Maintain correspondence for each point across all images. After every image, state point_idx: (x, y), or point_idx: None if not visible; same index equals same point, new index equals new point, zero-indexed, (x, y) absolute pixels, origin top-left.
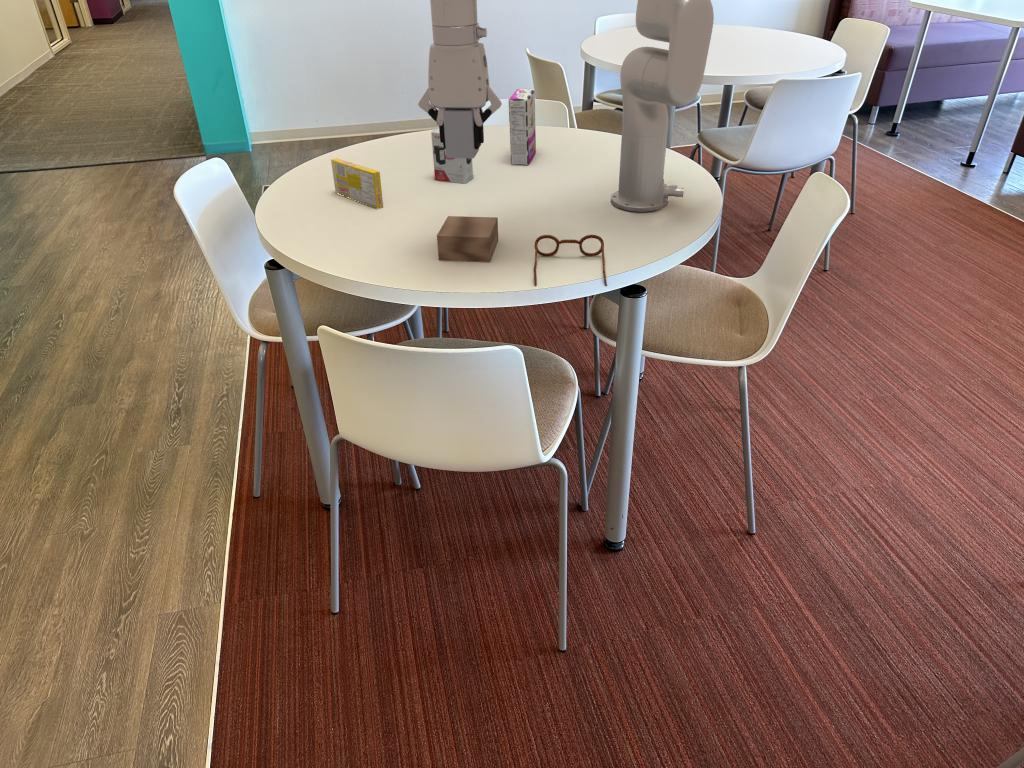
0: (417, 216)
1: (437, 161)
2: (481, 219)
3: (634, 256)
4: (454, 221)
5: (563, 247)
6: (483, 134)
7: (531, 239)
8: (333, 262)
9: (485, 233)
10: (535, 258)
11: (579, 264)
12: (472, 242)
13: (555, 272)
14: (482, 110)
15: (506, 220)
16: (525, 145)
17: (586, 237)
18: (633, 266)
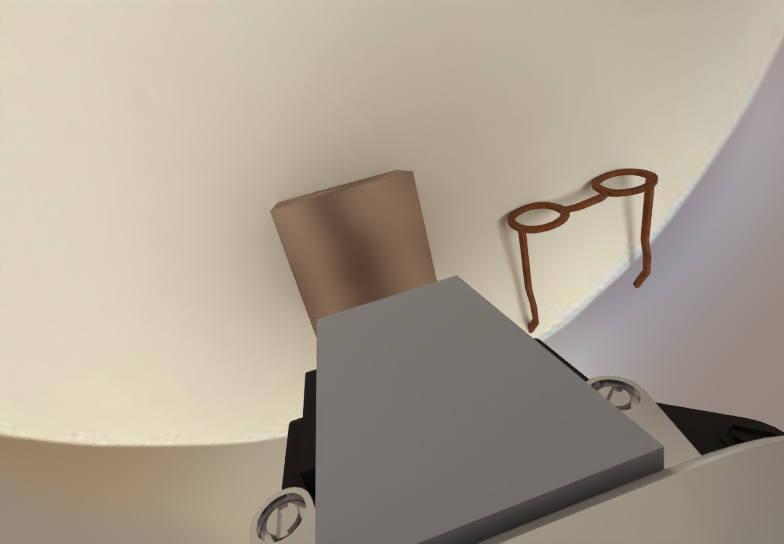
0: (67, 64)
1: None
2: (375, 201)
3: (680, 148)
4: (310, 241)
5: (545, 152)
6: (556, 357)
7: (467, 131)
8: (96, 410)
9: (424, 282)
10: (528, 283)
11: (587, 222)
12: None
13: (552, 271)
14: (689, 446)
15: (359, 13)
16: None
17: (631, 193)
18: (677, 195)
